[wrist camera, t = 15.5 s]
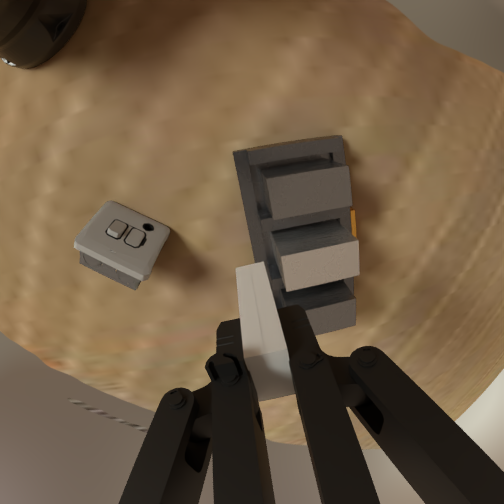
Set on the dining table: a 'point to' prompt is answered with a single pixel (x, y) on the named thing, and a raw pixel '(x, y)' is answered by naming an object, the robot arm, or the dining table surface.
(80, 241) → the electrical switch
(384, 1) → the dining table surface
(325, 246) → the grey block
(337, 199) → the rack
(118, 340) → the dining table surface
